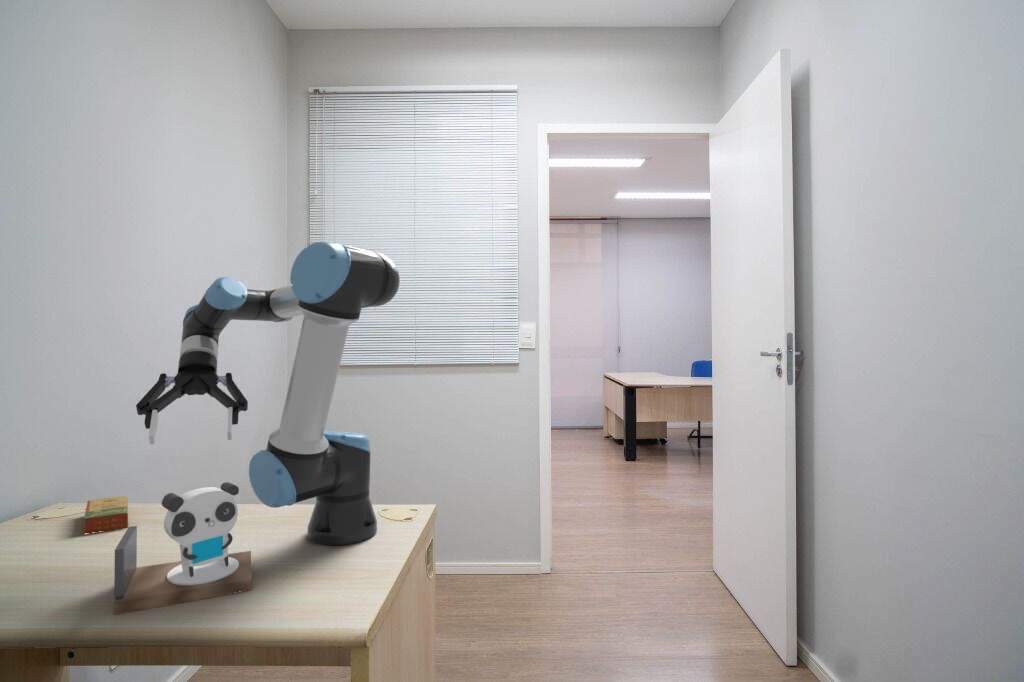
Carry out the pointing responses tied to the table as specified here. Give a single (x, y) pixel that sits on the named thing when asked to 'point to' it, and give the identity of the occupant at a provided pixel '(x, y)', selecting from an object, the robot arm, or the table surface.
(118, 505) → the carton
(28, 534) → the table surface
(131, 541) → the bookend
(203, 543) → the panda figurine
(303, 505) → the table surface
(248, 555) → the shelf board
